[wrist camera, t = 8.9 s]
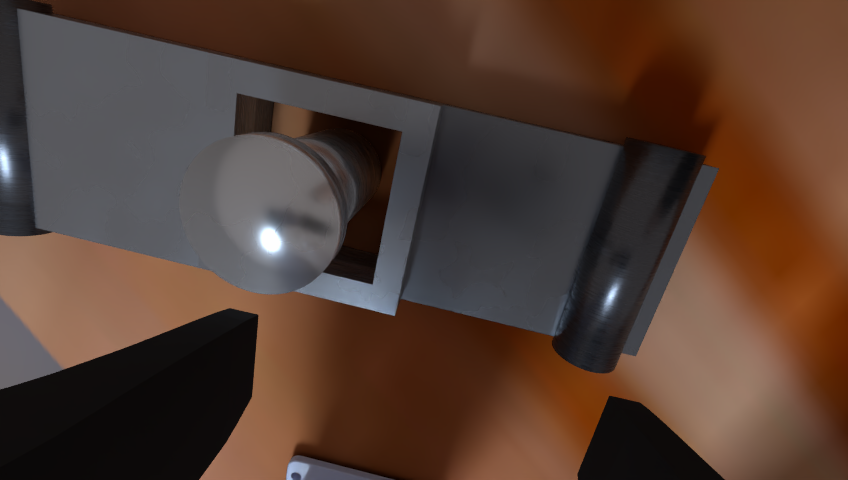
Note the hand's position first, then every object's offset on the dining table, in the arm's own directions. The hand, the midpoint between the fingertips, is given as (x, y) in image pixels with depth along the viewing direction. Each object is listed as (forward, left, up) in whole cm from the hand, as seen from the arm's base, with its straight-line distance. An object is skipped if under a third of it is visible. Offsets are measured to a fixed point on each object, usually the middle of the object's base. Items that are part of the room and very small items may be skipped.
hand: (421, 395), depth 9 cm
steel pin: (+2, +5, -9) cm, 11 cm away
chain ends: (+2, +5, -9) cm, 11 cm away
